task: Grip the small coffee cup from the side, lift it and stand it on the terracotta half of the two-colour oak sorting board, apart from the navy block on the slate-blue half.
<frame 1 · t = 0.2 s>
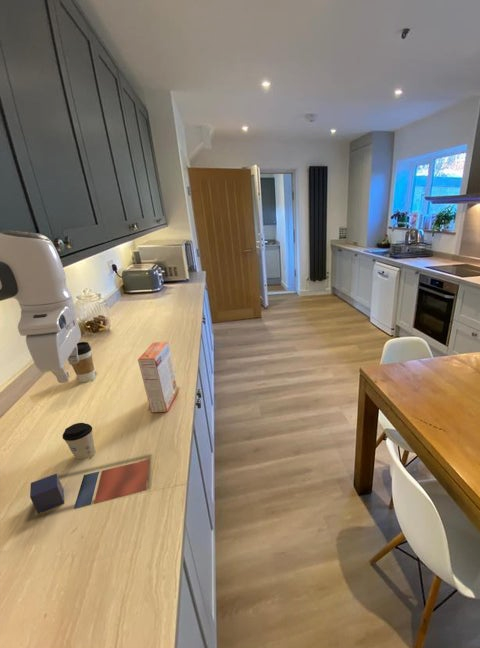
hand: (69, 371, 73), 31 cm above the countertop, tool pointing down, fingers open, 8 cm apart
coffee cup: (87, 379, 133), on the countertop
cracker box: (165, 402, 117), on the countertop
sorting board: (97, 488, 82), on the countertop
coffee cup 2: (86, 457, 92), on the countertop
navy block: (52, 503, 77), point 1 cm above the countertop, touching sorting board
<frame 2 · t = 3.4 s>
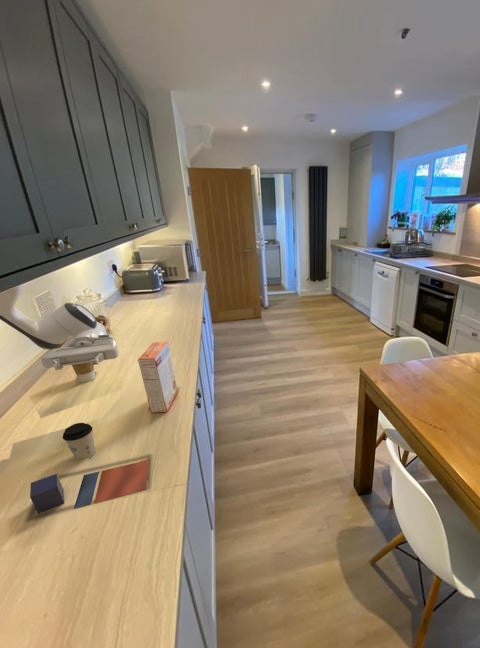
hand: (76, 365, 95), 22 cm above the countertop, tool horizontal, fingers open, 8 cm apart
nothing on the countertop moved.
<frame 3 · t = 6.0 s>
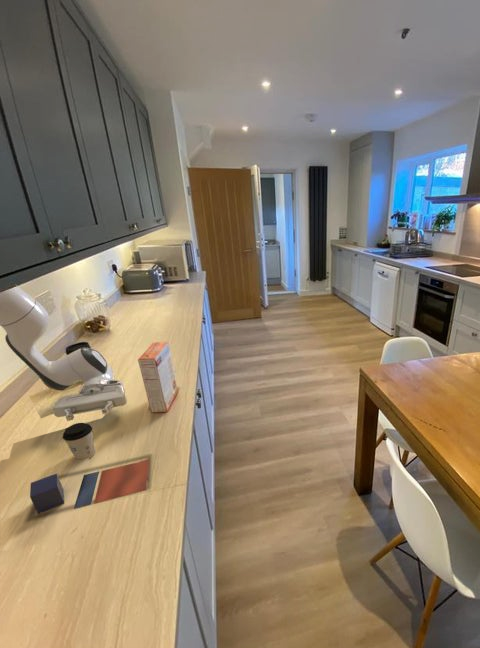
hand: (87, 415, 98), 7 cm above the countertop, tool horizontal, fingers open, 8 cm apart
nothing on the countertop moved.
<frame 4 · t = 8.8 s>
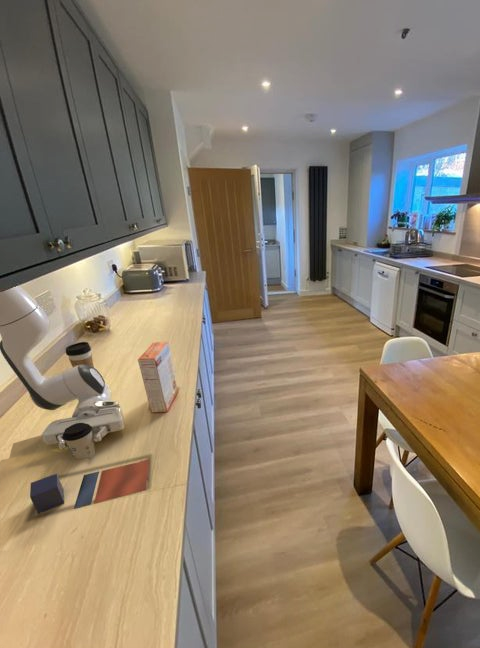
hand: (80, 443, 89), 5 cm above the countertop, tool horizontal, fingers closed on coffee cup 2, 7 cm apart
coffee cup 2: (86, 457, 92), on the countertop, touching gripper
everything else where it was.
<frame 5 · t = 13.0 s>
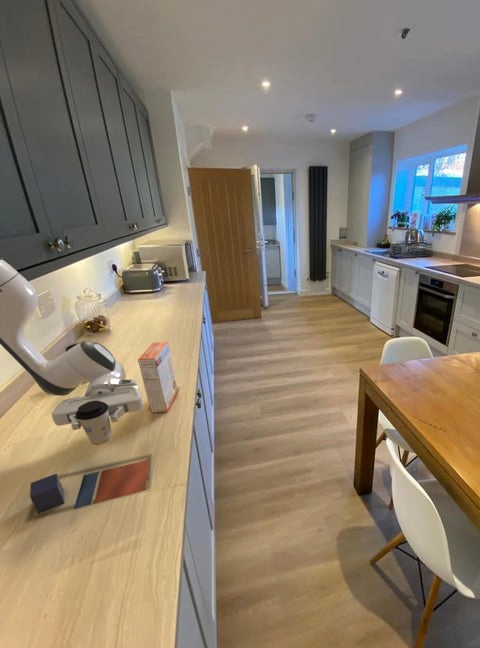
hand: (95, 423, 78), 17 cm above the countertop, tool horizontal, fingers closed on coffee cup 2, 7 cm apart
coffee cup 2: (101, 439, 81), point 11 cm above the countertop, touching gripper
everything else where it was.
when the fingers open (6 cm above the countertop, at t = 17.2 s): coffee cup 2 stays where it is, resting on sorting board.
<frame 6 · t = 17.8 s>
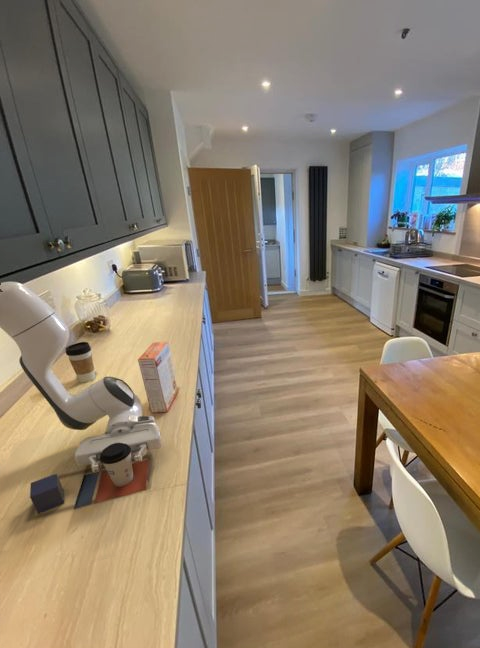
hand: (117, 464, 80), 7 cm above the countertop, tool horizontal, fingers open, 8 cm apart
coffee cup 2: (123, 479, 83), resting on sorting board
everything else where it was.
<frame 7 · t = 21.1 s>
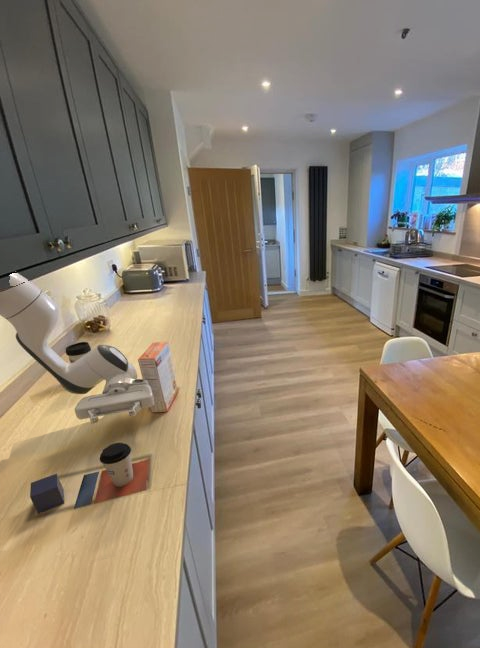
hand: (113, 417, 89), 12 cm above the countertop, tool horizontal, fingers open, 8 cm apart
nothing on the countertop moved.
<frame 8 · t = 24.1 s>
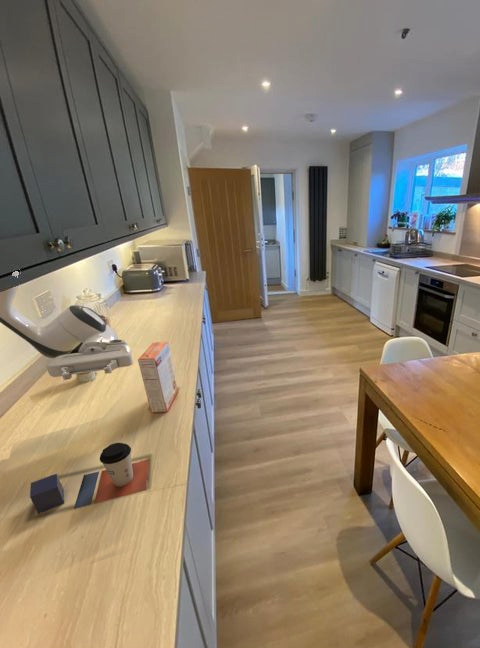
hand: (87, 374, 84), 25 cm above the countertop, tool horizontal, fingers open, 8 cm apart
nothing on the countertop moved.
at the end: coffee cup 2 inside the target area (0.1 cm from its centre), resting on sorting board; coffee cup 2 tilted 0°; the gripper is holding nothing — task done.
